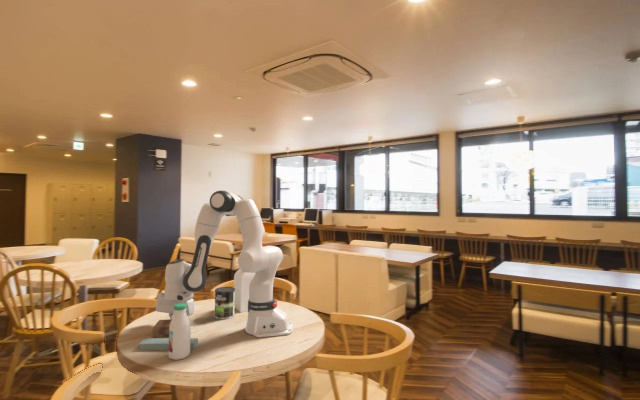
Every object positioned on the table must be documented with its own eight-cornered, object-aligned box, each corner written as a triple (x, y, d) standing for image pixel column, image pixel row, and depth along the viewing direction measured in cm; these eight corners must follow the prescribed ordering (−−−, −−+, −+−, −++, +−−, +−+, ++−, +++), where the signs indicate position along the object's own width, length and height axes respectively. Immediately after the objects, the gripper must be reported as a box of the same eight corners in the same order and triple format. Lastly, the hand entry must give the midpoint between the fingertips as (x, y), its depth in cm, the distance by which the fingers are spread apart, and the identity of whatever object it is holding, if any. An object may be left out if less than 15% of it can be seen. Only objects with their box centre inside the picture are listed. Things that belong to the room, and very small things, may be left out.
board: (197, 345, 136) (198, 338, 136) (193, 350, 131) (193, 343, 131) (145, 345, 135) (145, 338, 135) (138, 351, 130) (138, 343, 130)
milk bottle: (193, 351, 130) (193, 301, 130) (185, 360, 122) (186, 307, 122) (173, 351, 129) (174, 301, 129) (165, 360, 122) (165, 307, 122)
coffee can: (227, 320, 163) (227, 292, 163) (210, 317, 166) (210, 290, 167) (238, 313, 173) (238, 287, 173) (222, 311, 176) (222, 285, 176)
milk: (259, 308, 182) (260, 262, 182) (240, 312, 175) (241, 264, 175) (250, 303, 192) (251, 259, 192) (232, 306, 185) (232, 261, 185)
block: (179, 329, 152) (179, 318, 152) (174, 337, 143) (174, 326, 143) (159, 330, 150) (159, 319, 150) (153, 338, 141) (153, 327, 141)
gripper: (152, 293, 156) (152, 322, 156) (187, 297, 149) (187, 327, 149) (162, 290, 162) (162, 317, 162) (196, 294, 155) (196, 322, 155)
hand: (174, 322), depth 155 cm, fingers closed
